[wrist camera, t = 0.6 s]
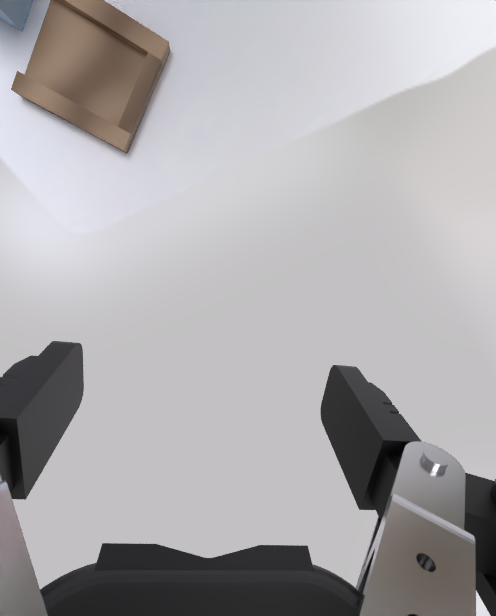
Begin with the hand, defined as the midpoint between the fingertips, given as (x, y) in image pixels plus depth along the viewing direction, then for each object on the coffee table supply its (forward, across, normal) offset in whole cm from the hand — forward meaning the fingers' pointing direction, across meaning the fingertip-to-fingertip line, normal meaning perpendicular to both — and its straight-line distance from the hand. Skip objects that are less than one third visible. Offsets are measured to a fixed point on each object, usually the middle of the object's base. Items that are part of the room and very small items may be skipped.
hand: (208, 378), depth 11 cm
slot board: (+29, +12, -13) cm, 34 cm away
